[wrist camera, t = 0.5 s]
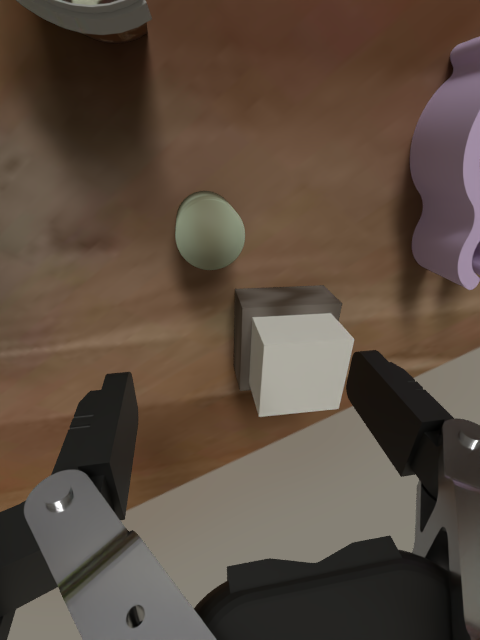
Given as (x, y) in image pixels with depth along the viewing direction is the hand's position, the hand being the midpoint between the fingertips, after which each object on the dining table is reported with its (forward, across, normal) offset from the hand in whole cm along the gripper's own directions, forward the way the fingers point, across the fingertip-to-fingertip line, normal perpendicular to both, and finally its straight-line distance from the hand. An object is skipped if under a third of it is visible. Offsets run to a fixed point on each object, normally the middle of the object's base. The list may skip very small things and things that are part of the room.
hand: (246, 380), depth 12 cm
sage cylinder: (+23, 0, -1) cm, 23 cm away
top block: (+18, -8, +11) cm, 22 cm away
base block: (+23, -8, +11) cm, 26 cm away
